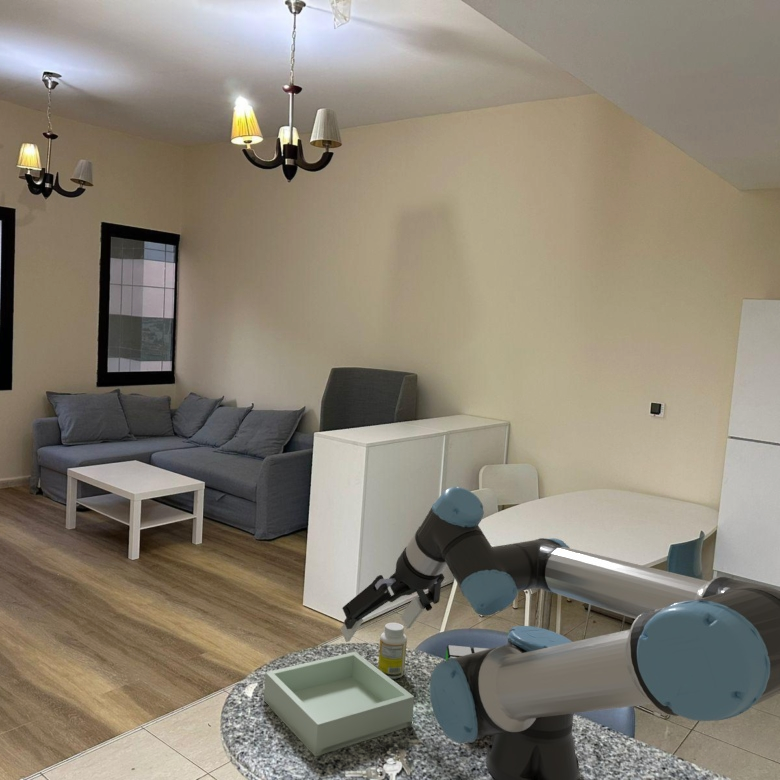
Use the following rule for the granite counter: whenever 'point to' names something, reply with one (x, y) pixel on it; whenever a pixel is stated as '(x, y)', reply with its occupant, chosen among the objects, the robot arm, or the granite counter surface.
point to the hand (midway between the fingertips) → (375, 628)
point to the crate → (337, 702)
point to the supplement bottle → (392, 650)
